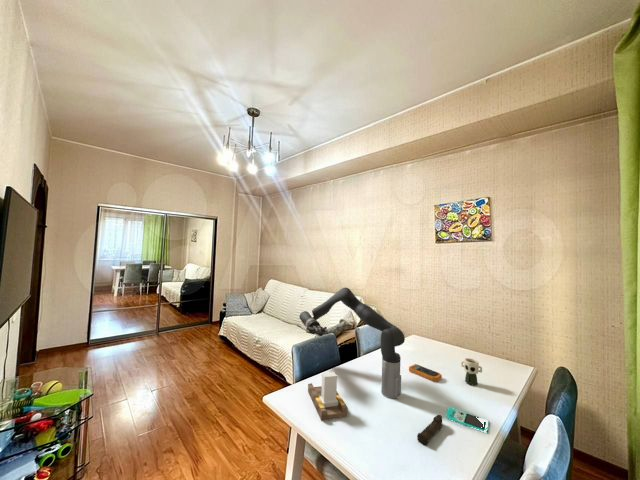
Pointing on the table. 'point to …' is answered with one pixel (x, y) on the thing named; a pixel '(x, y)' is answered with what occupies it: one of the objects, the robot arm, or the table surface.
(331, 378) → the switch tab
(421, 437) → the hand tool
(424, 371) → the multimeter
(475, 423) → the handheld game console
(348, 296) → the robot arm
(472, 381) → the character mug
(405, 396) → the table surface
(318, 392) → the switch housing
